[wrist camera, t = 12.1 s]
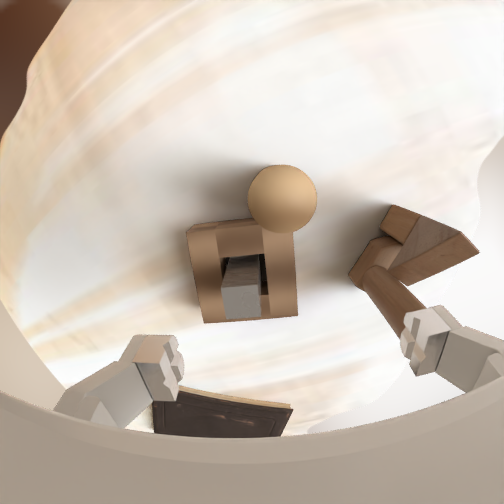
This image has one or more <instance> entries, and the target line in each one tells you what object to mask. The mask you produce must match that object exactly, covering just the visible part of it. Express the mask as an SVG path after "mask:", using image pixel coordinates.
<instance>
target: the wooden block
mask: <svg viewBox="0 0 504 504" xmlns="http://www.w3.org/2000/svg"><path fill="white" fill-rule="evenodd" d="M380 229H381V230H382V231H384V232H385V233H387V234H388V235H389V236H384V237H380V238H377V239H373V240H371V241H370V242H369V244H368V246H367V247H366V249H365V250H364V252H363V253H362V255H361V256H360V258H359V259H358V261H357V262H356V264H355V265H354V267H353V268H352V270H351V271H350V273H349V275H348V276H349V277H350V279H351V280H352V281H353V283H354V284H355V286H356V287H358V288H359V289H361V290H363V291H365V292H366V293H367V294H368V295H369V297H370V298H371V300H372V301H373V302H374V304H375V305H376V306H377V308H378V309H379V311H380V312H381V313H382V315H383V316H384V317H385V319H386V320H387V322H388V323H389V325H390V326H391V327H392V329H393V330H394V332H395V333H396V335H397V336H398V337H399V339H400V338H401V333H402V331H403V330H404V329H405V328H406V326H405V324H404V323H403V322H404V317H405V315H406V313H408V312H413V311H418V310H422V309H427V308H426V307H425V306H424V305H423V304H422V303H421V302H420V301H419V300H418V299H417V298H416V297H415V296H414V295H413V294H412V293H411V292H410V291H409V290H408V289H407V288H406V287H405V286H404V285H403V284H405V285H406V286H409V285H412V284H414V283H417V282H419V281H421V280H424V279H426V278H428V277H430V276H433V275H435V274H437V273H439V272H441V271H444V270H446V269H448V268H450V267H452V266H454V265H456V264H459V263H461V262H463V261H465V260H467V259H469V258H471V257H473V256H475V255H477V254H479V250H478V249H477V248H476V247H475V246H474V245H473V244H472V243H471V241H470V240H469V239H468V238H467V237H466V236H465V235H464V234H463V233H462V232H461V231H458V230H456V229H454V228H452V227H449V226H447V225H445V224H442V223H440V222H437V221H435V220H433V219H430V218H428V217H425V216H422V215H420V214H418V213H415V212H412V211H410V210H407V209H405V208H402V207H399V206H397V205H392V206H391V208H390V210H389V211H388V213H387V215H386V216H385V218H384V220H383V221H382V223H381V225H380ZM401 282H402V283H403V284H402V283H401Z"/></svg>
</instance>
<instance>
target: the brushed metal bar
mask: <svg viewBox="0 0 504 504" xmlns="http://www.w3.org/2000/svg"><path fill="white" fill-rule="evenodd" d="M221 293H222V298H223V304H224V310H225V315H226V319H239V318H252V317H261V270H260V261H259V254H253V255H243V256H233V257H230V259H229V262H228V266H227V269H226V272H225V275H224V279H223V282H222V285H221Z"/></svg>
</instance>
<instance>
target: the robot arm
mask: <svg viewBox="0 0 504 504" xmlns="http://www.w3.org/2000/svg"><path fill="white" fill-rule="evenodd" d="M403 323H404V324H405V326H406V328H405V329H404V330H403V331H402V333H401V338H400V346H401V350H402V353H403V355H404V356H405V357H406V358H408V359H410V364H409V365H410V367H411V369H412V370H413V372H414V374H415V375H416V376H420V375H424V374H428V373H432V372H435V371H436V373H437V374H438V375H440V376H441V377H443V378H444V379H446V380H448V381H449V382H450V383H452V384H453V385H455V386H456V387H458V388H459V389H461V390H463V391H464V392H466V393H465V394H462V395H460V396H457V397H455V398H452V399H450V400H447V401H444V402H442V403H439V404H436V405H433V406H431V407H428V408H424V409H421V410H418V411H415V412H412V413H408V414H405V415H401V416H398V417H394V418H390V419H386V420H383V421H379V422H374V423H370V424H365V425H361V426H356V427H350V428H345V429H340V430H333V431H327V432H319V433H312V434H303V435H293V436H282V437H266V438H201V437H186V436H174V435H165V434H156V433H149V432H142V431H135V430H129V429H124V428H125V427H126V426H127V425H128V424H129V423H130V422H132V421H133V420H134V419H135V418H136V417H137V416H138V415H139V414H140V413H141V412H142V411H144V410H145V409H146V408H147V407H148V406H149V405H150V404H151V403H152V402H153V400H155V401H176V398H177V394H178V391H179V385H178V382H179V381H180V380H182V378H183V375H184V361H183V357H182V354H181V353H180V352H178V351H177V348H178V345H179V344H178V342H177V339H176V337H175V336H174V335H134V336H133V338H132V339H131V341H130V343H129V344H128V346H127V348H126V349H125V351H124V353H123V354H122V356H121V358H120V359H119V361H118V362H117V361H114V362H113V363H111V364H109V365H108V366H106V367H104V368H102V369H101V370H99V371H97V372H96V373H94V374H92V375H91V376H89V377H87V378H85V379H84V380H82V381H80V382H79V383H77V384H75V385H73V386H72V387H70V388H68V389H67V390H66V391H65V393H64V394H63V396H62V397H61V399H60V400H59V402H58V403H57V405H56V406H55V408H54V410H53V411H52V410H48V409H46V408H43V407H40V406H37V405H34V404H31V403H29V402H26V401H24V400H21V399H19V398H16V397H14V396H11V395H9V394H7V393H5V392H2V391H0V504H504V340H501V339H499V338H496V337H493V336H490V335H488V334H485V333H483V332H480V331H477V330H475V329H472V328H470V327H467V326H465V327H462V325H461V324H460V323H459V322H458V321H457V320H456V319H455V318H454V317H453V316H452V315H451V314H450V313H449V311H448V310H446V309H445V308H444V306H442V305H438V306H434V307H430V308H427V309H422V310H418V311H413V312H408V313H406V315H405V317H404V322H403Z"/></svg>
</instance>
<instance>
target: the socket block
mask: <svg viewBox="0 0 504 504" xmlns="http://www.w3.org/2000/svg"><path fill="white" fill-rule="evenodd" d="M186 236H187V241H188V247H189V252H190V258H191V263H192V268H193V273H194V279H195V284H196V288H197V293H198V298H199V303H200V307H201V312H202V317H203V321H204V323H220V322H235V321H248V320H260V319H271V318H282V317H291V316H298V307H297V289H296V272H295V257H294V243H293V232H291V233H274V232H271V231H268V230H266V229H264V228H263V227H261V226H260V225H259V224H258V223H257V222H256V221H255V220H254V218H247V219H238V220H229V221H221V222H212V223H204V224H196V225H194V226H192V227H191V228H190V229H189V230H188V231H187V232H186ZM263 253H264V254H265V263H266V273H267V280H266V281H261V317H252V318H239V319H226V315H225V310H224V304H223V298H222V293H221V285H222V282H223V279H224V275H225V272H226V269H227V266H226V259H225V257H233V256H243V255H253V254H263Z"/></svg>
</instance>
